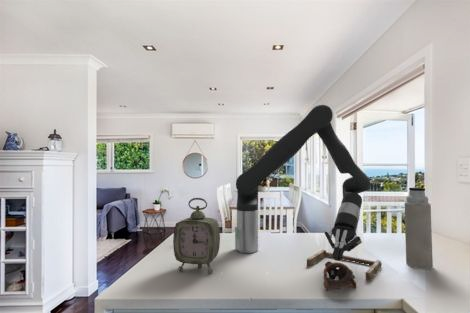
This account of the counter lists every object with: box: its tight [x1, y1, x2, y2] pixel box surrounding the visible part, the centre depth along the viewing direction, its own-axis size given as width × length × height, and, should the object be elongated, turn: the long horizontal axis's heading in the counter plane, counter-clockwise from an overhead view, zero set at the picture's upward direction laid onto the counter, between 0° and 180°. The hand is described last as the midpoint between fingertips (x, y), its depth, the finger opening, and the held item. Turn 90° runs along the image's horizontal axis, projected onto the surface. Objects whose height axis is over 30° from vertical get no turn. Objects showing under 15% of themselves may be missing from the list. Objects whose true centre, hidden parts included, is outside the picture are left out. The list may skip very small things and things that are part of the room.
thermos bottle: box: [403, 187, 434, 270], centre depth 99 cm, size 8×8×28 cm
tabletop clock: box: [172, 197, 221, 275], centre depth 95 cm, size 14×9×25 cm, turn 77°
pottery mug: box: [322, 260, 357, 291], centre depth 81 cm, size 12×10×8 cm
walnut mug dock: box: [306, 249, 383, 282], centre depth 97 cm, size 16×21×2 cm
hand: (336, 259), depth 91 cm, fingers closed
